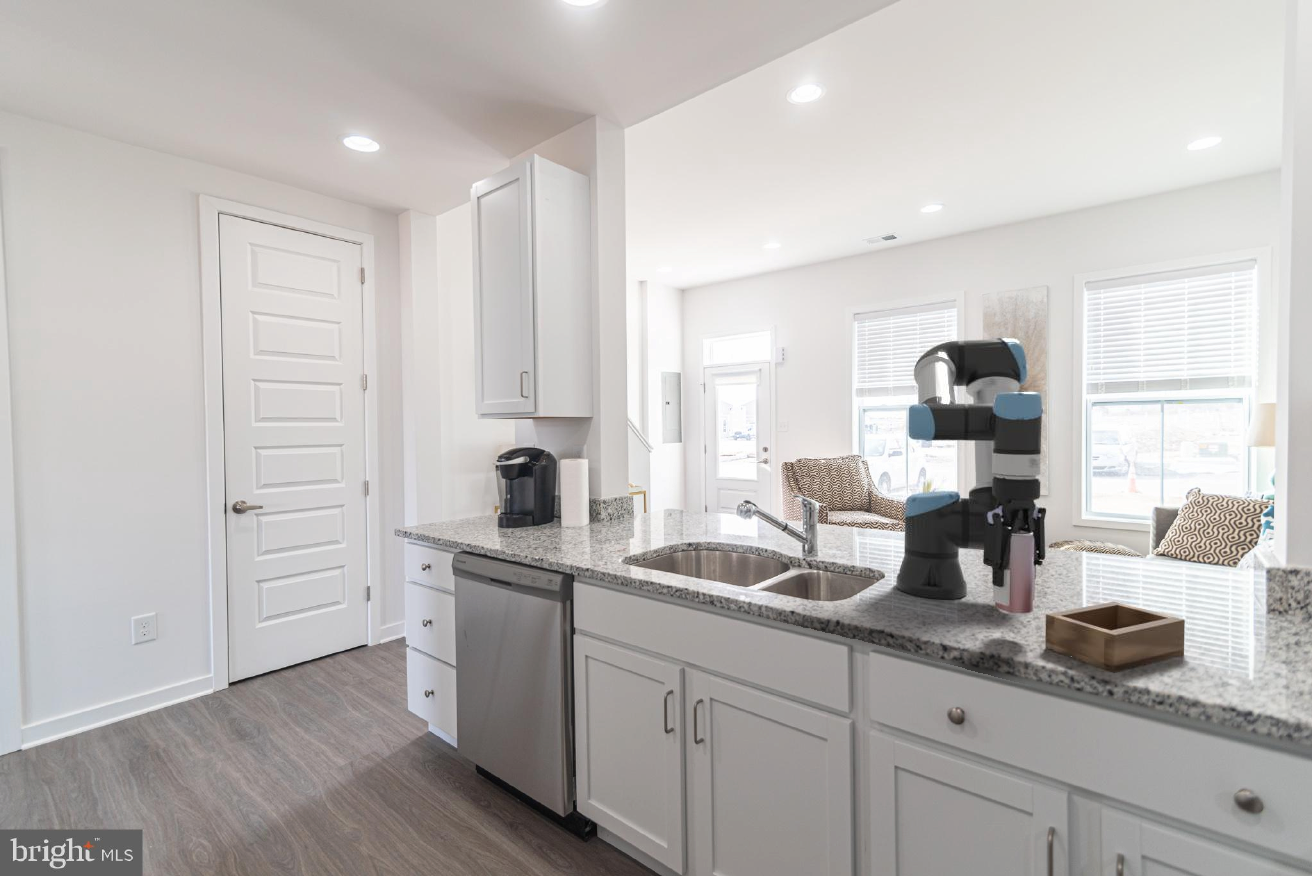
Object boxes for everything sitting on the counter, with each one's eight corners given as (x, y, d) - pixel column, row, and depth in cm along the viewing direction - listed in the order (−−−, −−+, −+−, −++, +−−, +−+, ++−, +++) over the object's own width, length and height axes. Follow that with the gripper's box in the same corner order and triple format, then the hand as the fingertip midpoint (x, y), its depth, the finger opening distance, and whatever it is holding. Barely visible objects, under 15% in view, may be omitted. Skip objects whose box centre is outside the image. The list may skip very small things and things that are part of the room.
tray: (1045, 648, 103) (1045, 614, 103) (1113, 633, 111) (1113, 601, 110) (1114, 672, 93) (1114, 635, 93) (1184, 654, 100) (1184, 619, 100)
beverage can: (994, 603, 113) (995, 526, 112) (1030, 608, 110) (1032, 529, 109) (995, 613, 108) (997, 532, 107) (1034, 618, 105) (1036, 535, 104)
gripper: (998, 482, 100) (996, 614, 102) (1071, 475, 108) (1068, 599, 109) (960, 477, 107) (959, 601, 109) (1031, 471, 115) (1029, 588, 116)
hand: (1013, 600), depth 109 cm, fingers closed on beverage can, 6 cm apart
